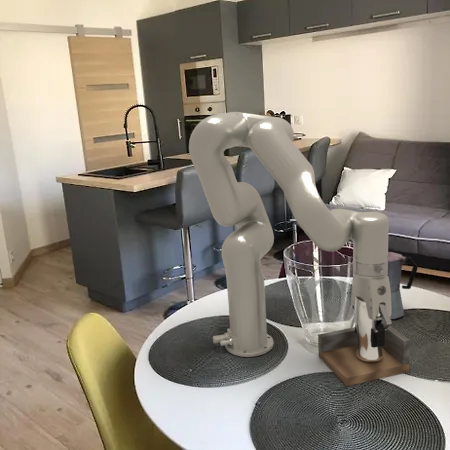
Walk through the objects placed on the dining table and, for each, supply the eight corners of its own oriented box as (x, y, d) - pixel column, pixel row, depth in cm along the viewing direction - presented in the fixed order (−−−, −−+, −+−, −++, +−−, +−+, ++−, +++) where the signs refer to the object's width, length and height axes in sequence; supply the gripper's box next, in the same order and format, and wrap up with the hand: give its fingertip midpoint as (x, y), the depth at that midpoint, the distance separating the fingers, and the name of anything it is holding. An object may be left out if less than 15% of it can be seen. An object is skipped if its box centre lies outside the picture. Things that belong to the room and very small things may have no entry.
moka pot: (369, 302, 155) (369, 239, 149) (421, 312, 146) (423, 246, 141) (357, 314, 147) (357, 248, 142) (411, 326, 138) (413, 256, 133)
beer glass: (386, 364, 116) (387, 303, 113) (354, 362, 118) (355, 302, 114) (383, 349, 123) (384, 291, 119) (353, 347, 124) (353, 290, 121)
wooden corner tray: (346, 386, 113) (346, 353, 111) (318, 356, 126) (317, 327, 124) (409, 371, 117) (410, 340, 115) (375, 344, 130) (376, 315, 128)
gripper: (408, 277, 108) (405, 353, 112) (364, 253, 124) (364, 321, 128) (376, 282, 106) (375, 360, 110) (336, 258, 122) (337, 326, 127)
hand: (369, 338), depth 119 cm, fingers closed on beer glass, 6 cm apart
